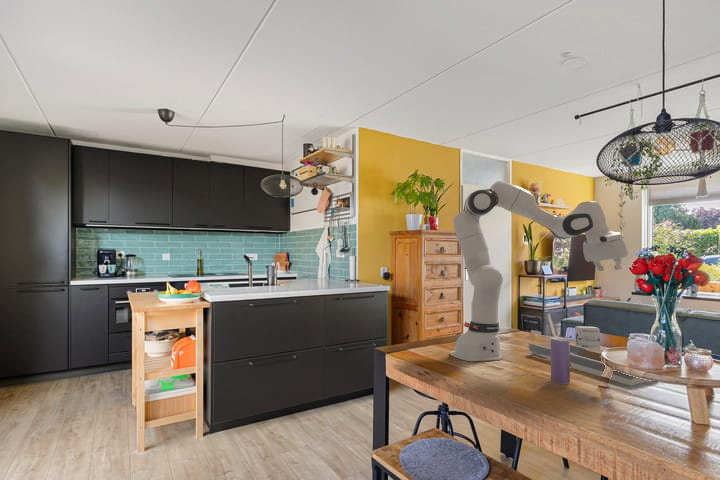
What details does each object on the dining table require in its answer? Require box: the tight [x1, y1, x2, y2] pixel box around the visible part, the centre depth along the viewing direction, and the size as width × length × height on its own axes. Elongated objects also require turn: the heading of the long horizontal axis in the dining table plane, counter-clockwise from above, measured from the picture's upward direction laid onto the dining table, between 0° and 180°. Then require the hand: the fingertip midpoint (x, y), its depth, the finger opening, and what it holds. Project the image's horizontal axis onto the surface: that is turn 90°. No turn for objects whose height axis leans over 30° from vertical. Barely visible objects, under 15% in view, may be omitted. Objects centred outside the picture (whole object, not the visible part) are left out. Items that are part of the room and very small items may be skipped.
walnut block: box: [583, 348, 605, 362], centre depth 149 cm, size 6×6×5 cm
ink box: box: [575, 325, 601, 350], centre depth 172 cm, size 9×5×12 cm, turn 84°
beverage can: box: [550, 336, 571, 385], centre depth 133 cm, size 6×6×15 cm
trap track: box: [528, 342, 651, 387], centre depth 153 cm, size 16×42×6 cm, turn 25°
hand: (609, 270), depth 160 cm, fingers open, 8 cm apart
